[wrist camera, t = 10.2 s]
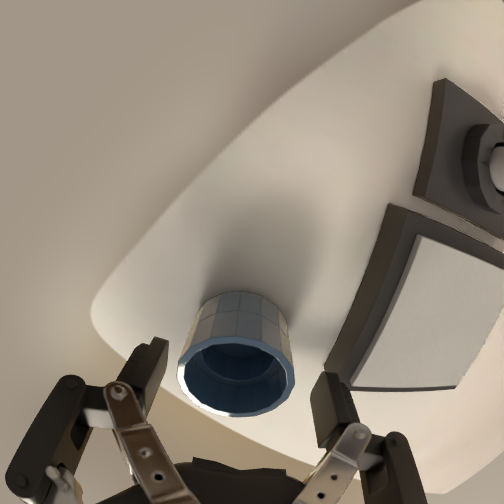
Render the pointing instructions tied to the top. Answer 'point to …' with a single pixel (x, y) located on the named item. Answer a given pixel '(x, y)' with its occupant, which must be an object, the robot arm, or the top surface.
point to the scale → (419, 308)
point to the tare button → (497, 167)
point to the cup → (237, 356)
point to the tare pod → (461, 158)
